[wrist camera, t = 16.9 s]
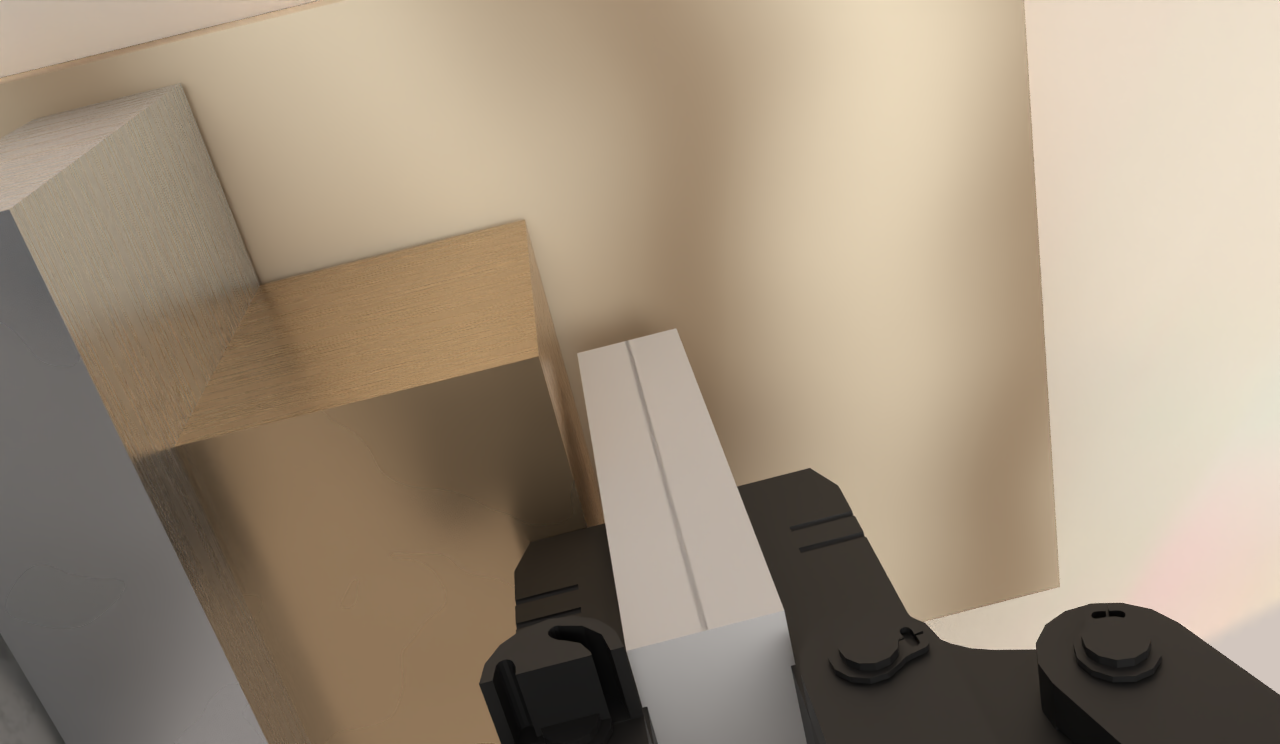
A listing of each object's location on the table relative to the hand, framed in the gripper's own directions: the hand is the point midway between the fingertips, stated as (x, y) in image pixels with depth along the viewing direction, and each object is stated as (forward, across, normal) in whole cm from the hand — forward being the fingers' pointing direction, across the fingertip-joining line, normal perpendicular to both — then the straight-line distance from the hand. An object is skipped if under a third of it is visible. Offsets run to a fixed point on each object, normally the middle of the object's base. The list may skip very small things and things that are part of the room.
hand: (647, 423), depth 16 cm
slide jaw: (+2, -4, 0) cm, 4 cm away
